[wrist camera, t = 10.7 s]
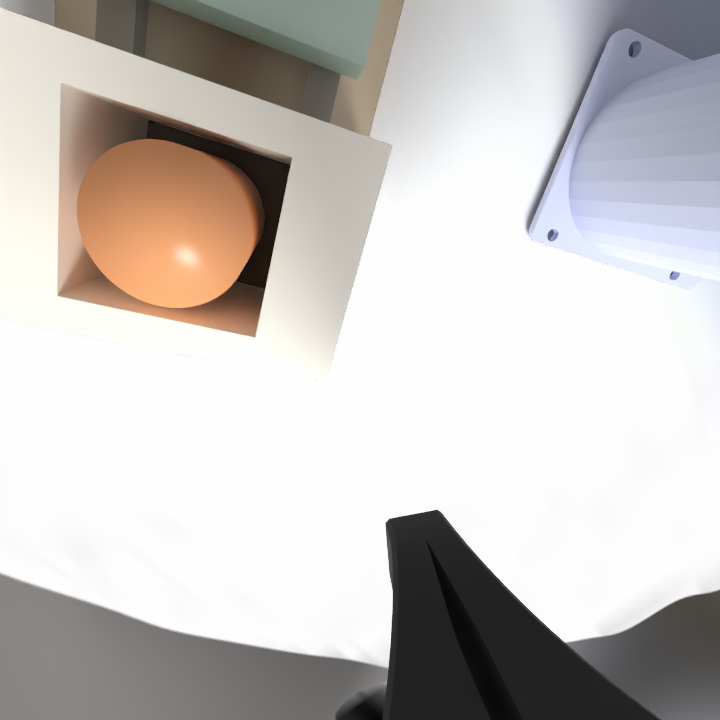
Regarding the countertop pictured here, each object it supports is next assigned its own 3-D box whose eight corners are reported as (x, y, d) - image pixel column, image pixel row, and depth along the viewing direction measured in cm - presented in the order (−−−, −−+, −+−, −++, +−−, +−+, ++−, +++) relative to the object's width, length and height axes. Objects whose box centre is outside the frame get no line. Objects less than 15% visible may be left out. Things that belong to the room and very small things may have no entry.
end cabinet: (358, 157, 16) (392, 145, 10) (316, 323, 18) (325, 382, 13) (60, 57, 13) (-99, -28, 8) (56, 264, 16) (-67, 307, 10)
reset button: (273, 174, 15) (263, 170, 10) (253, 277, 17) (235, 322, 11) (159, 138, 14) (79, 112, 9) (148, 252, 16) (74, 287, 10)
